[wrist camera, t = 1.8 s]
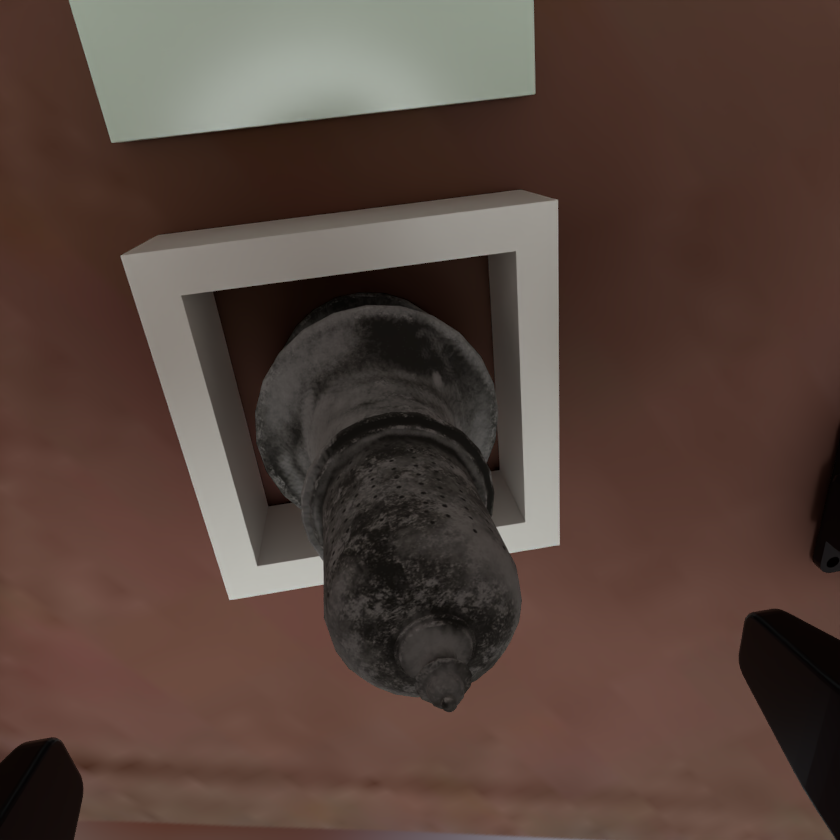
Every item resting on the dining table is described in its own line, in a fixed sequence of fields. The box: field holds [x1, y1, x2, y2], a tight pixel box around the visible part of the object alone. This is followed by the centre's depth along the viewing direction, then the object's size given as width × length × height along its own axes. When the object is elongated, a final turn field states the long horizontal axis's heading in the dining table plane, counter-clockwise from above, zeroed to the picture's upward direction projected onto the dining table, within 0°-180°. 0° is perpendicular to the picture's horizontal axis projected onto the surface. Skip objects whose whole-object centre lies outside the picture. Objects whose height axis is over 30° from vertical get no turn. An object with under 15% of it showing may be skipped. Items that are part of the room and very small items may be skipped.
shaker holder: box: [120, 190, 560, 600], centre depth 17 cm, size 10×10×3 cm
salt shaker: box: [255, 292, 522, 712], centre depth 12 cm, size 6×6×12 cm
